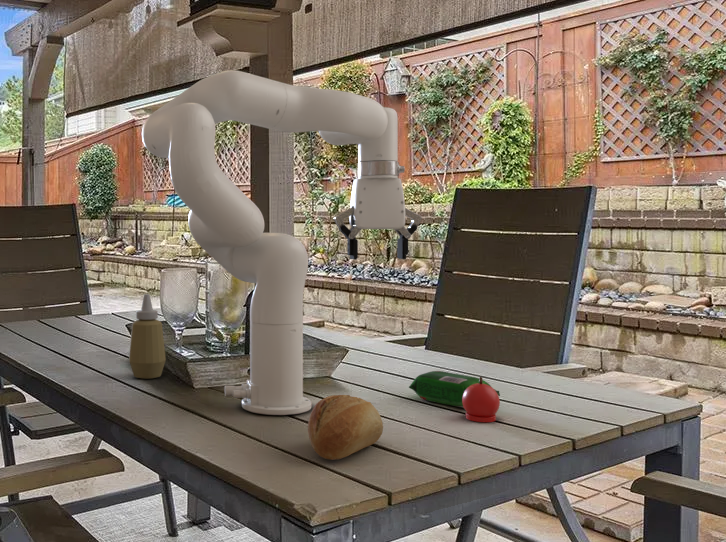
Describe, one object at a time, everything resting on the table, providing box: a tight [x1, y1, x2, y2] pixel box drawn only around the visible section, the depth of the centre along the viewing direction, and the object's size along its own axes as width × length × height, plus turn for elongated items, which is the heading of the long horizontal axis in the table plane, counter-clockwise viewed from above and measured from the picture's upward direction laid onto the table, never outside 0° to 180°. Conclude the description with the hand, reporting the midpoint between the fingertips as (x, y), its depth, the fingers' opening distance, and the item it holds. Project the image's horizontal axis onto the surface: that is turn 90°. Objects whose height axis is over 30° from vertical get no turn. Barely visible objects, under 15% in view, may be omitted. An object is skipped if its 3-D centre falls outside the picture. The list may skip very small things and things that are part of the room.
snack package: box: [408, 370, 501, 409], centre depth 139 cm, size 7×16×5 cm, turn 35°
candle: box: [462, 376, 501, 423], centre depth 128 cm, size 6×6×7 cm
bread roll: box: [307, 394, 384, 461], centre depth 110 cm, size 10×15×8 cm, turn 146°
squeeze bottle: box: [128, 293, 166, 380], centre depth 164 cm, size 8×8×18 cm
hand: (377, 259), depth 148 cm, fingers open, 9 cm apart
